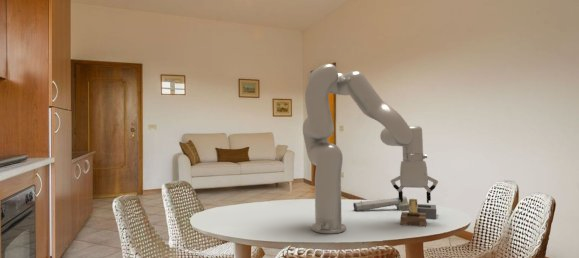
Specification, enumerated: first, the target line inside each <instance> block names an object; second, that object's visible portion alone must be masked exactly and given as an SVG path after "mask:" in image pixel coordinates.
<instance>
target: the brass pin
mask: <svg viewBox="0 0 579 258" xmlns="http://www.w3.org/2000/svg"><path fill="white" fill-rule="evenodd" d="M408 202H409V210H408V212H409V216H417V217H418V214H417V204H418V199H417V198H409V199H408Z"/></svg>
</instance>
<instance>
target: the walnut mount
mask: <svg viewBox="0 0 579 258" xmlns="http://www.w3.org/2000/svg"><path fill="white" fill-rule="evenodd" d="M417 214H418V217H417V216H409V211H402V212H401V215H400V225H402V226H403V225H404V226H412V227H413V226H415V227H427V219H426V213H417Z"/></svg>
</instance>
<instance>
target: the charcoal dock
mask: <svg viewBox="0 0 579 258" xmlns="http://www.w3.org/2000/svg"><path fill="white" fill-rule="evenodd" d="M436 206H437V205H436V204H428V203H427V204H425V203H424V204H422V203H417V213H426V220H437V207H436Z"/></svg>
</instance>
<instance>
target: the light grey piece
mask: <svg viewBox="0 0 579 258" xmlns="http://www.w3.org/2000/svg"><path fill="white" fill-rule="evenodd" d="M391 206H392V207H393V206H395V207H396V210H397V211H400V210H401V211H402V212H407V210H408V211H409V200H408V198H407V196H406V195H405V196H403V202H401V200H399V196H397V197H395V198H386V199H385V198H384V199H375V200H367V201H366V200H365V201H362V200H360V201H359V202H358V201H357V202H353V210H354V211H355V212H361V211H362V212H364V211H370V210H374V209H379V208H387V207H391Z"/></svg>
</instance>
